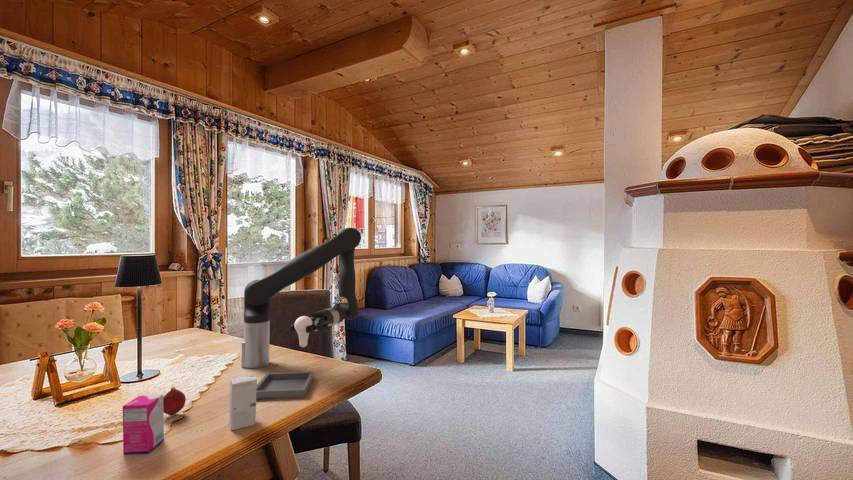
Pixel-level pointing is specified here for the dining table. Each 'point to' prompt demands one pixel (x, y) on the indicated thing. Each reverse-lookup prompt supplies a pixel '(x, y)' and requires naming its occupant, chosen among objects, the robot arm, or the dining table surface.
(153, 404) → the supplement box
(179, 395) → the onion
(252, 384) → the skincare box
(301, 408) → the dining table surface
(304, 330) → the lightbulb
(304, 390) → the parts tray
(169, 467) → the dining table surface
